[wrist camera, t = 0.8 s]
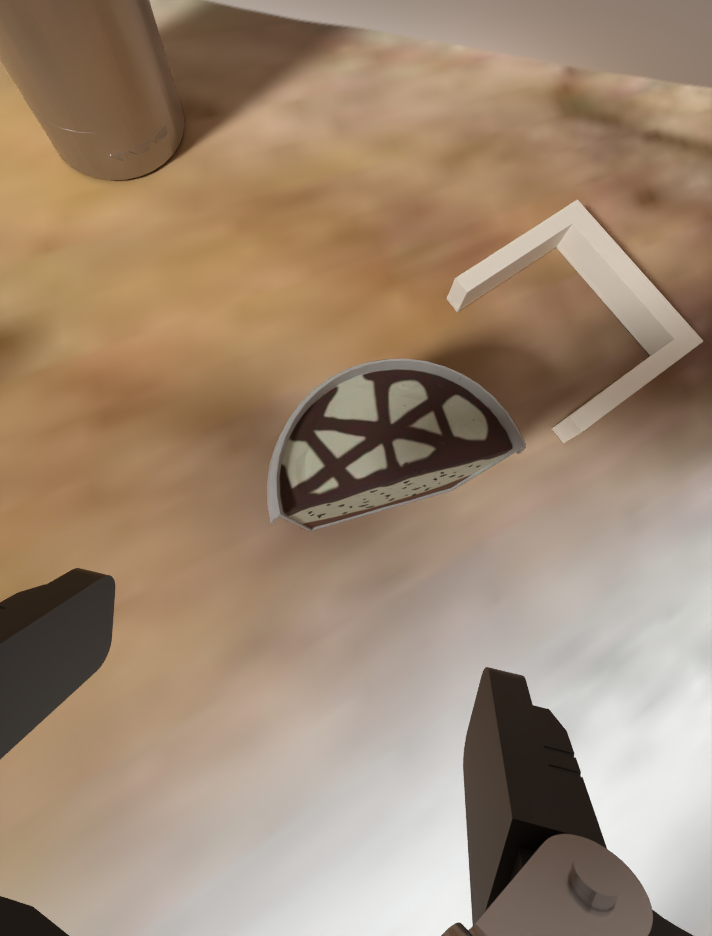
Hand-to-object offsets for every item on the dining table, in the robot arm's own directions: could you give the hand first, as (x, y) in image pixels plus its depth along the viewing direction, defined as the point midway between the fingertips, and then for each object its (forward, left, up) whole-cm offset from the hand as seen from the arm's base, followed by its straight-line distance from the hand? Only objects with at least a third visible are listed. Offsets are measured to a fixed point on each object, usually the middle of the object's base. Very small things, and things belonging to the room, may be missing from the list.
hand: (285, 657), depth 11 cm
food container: (-5, +8, -21) cm, 23 cm away
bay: (-5, +24, -20) cm, 32 cm away
